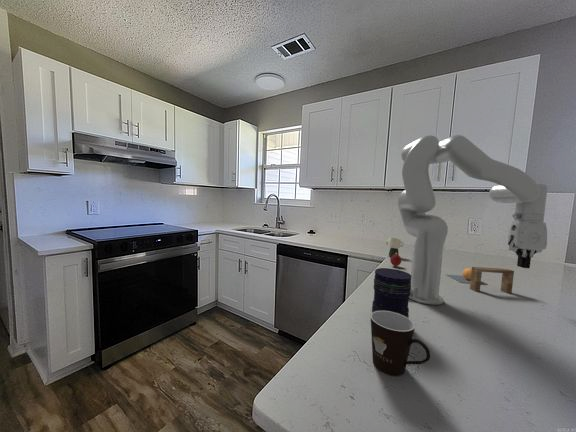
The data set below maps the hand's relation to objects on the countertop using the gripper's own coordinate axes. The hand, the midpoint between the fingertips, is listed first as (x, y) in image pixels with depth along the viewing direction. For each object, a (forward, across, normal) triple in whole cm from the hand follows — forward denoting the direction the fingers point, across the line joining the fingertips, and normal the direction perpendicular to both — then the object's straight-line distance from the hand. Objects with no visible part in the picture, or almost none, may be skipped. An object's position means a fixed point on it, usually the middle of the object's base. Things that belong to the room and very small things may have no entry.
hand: (523, 267), depth 86 cm
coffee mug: (+14, -63, -41) cm, 77 cm away
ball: (+11, +2, +27) cm, 29 cm away
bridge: (+14, 0, +13) cm, 19 cm away
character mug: (+14, -18, +70) cm, 74 cm away
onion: (+14, -27, +45) cm, 54 cm away
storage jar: (+14, -56, -21) cm, 61 cm away
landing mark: (+14, 0, +28) cm, 31 cm away
